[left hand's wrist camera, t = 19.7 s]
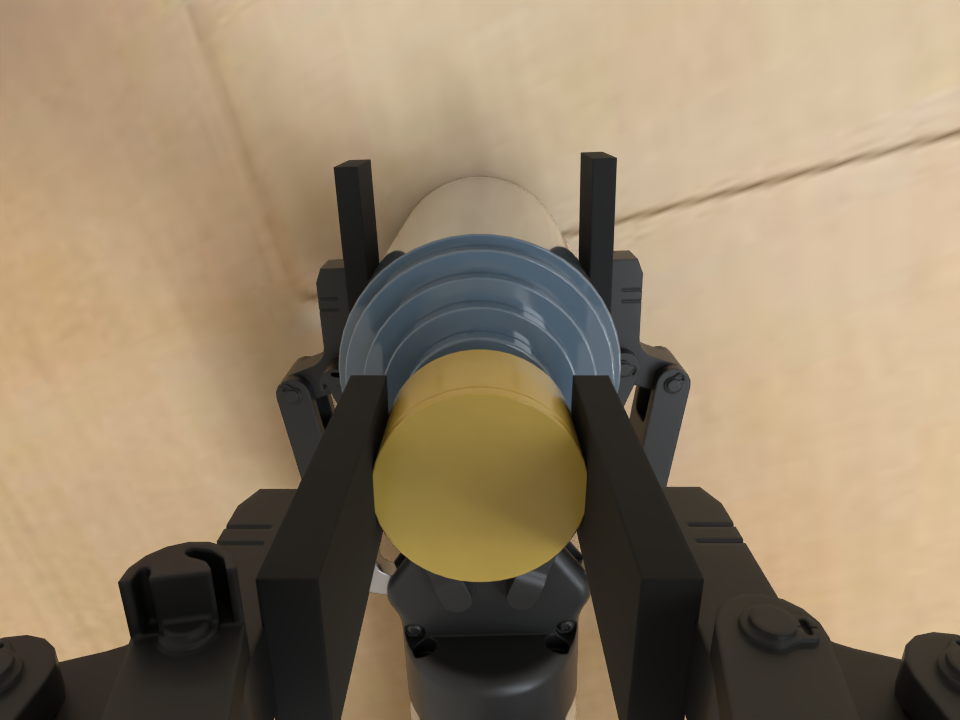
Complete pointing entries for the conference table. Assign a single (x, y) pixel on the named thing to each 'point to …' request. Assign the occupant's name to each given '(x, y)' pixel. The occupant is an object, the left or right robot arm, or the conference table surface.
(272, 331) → the conference table surface
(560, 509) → the cap
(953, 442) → the conference table surface
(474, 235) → the bottle
